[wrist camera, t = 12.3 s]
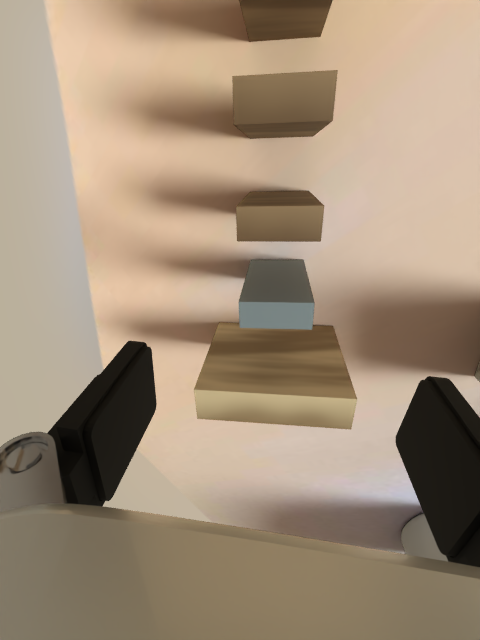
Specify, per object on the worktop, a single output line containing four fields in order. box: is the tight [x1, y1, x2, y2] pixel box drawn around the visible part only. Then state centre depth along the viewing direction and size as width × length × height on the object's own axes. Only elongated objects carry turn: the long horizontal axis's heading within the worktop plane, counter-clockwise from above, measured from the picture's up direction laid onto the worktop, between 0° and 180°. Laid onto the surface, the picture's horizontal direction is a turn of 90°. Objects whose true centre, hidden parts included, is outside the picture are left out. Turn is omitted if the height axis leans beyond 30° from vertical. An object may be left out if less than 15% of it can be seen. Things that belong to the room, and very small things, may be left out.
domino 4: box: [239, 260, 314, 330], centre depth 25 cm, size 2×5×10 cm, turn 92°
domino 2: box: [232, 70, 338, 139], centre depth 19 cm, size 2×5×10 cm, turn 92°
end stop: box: [194, 322, 357, 429], centre depth 28 cm, size 3×12×11 cm, turn 91°
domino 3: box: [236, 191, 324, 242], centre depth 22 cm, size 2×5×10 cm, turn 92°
